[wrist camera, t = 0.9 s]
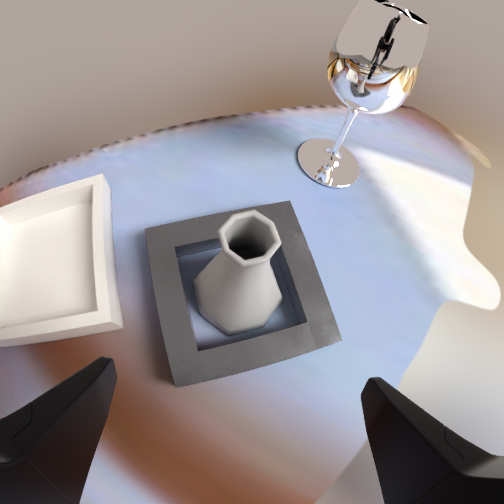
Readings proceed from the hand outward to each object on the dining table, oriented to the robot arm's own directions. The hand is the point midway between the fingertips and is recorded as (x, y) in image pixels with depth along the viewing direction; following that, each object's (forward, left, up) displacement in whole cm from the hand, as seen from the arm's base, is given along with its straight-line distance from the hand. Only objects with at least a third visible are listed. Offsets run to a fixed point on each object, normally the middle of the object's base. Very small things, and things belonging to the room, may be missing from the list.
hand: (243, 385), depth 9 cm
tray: (+13, +14, -13) cm, 23 cm away
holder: (+7, -3, -13) cm, 15 cm away
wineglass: (+19, -17, -14) cm, 29 cm away
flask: (+7, -3, -14) cm, 16 cm away
